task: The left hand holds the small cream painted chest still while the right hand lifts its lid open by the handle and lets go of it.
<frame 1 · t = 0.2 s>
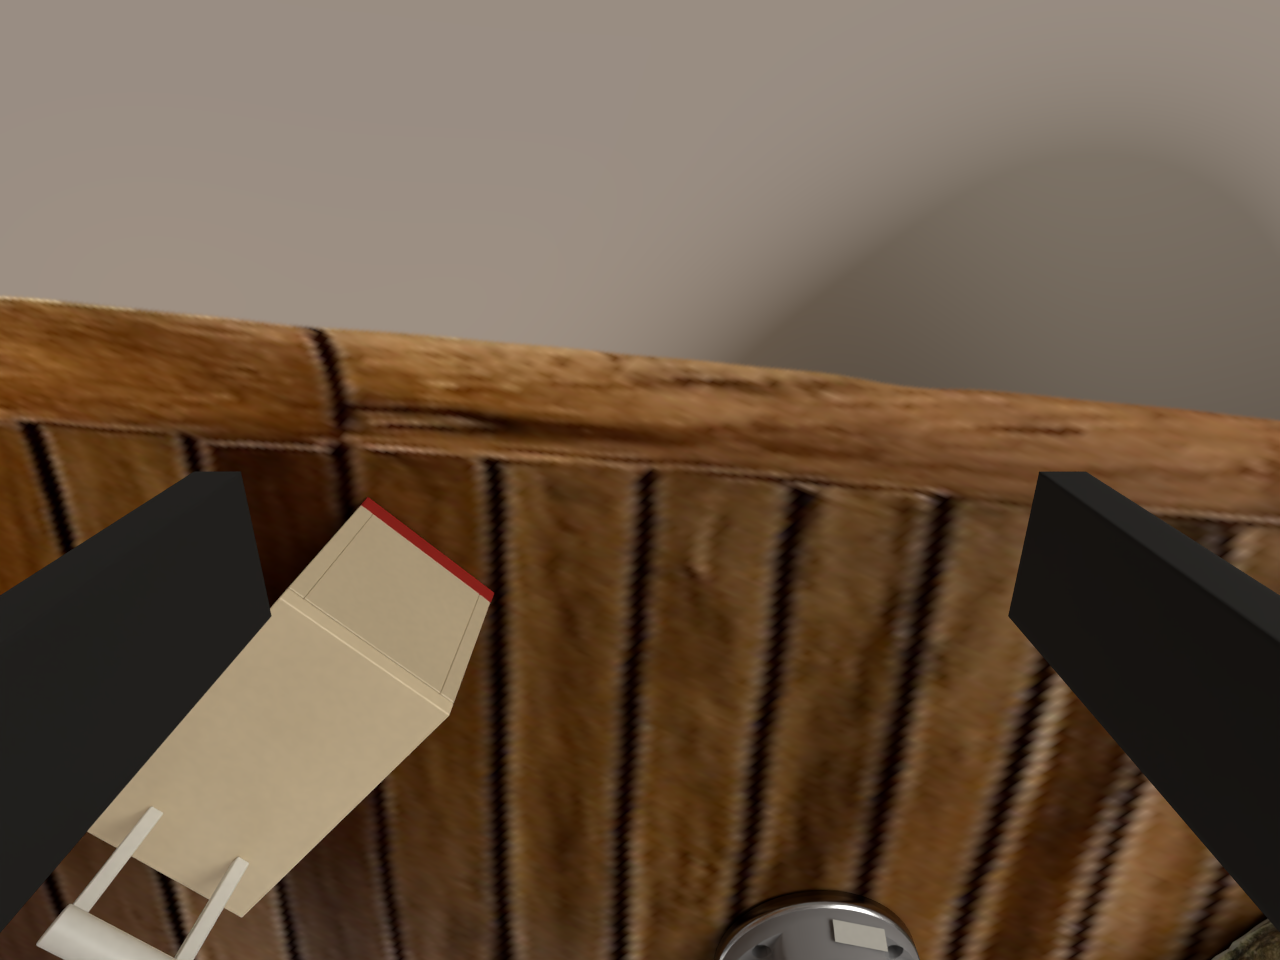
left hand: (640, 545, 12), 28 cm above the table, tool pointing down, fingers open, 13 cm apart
chest: (349, 636, 46), on the table
lid: (225, 825, 33), point 14 cm above the table, hinge at 0.0°
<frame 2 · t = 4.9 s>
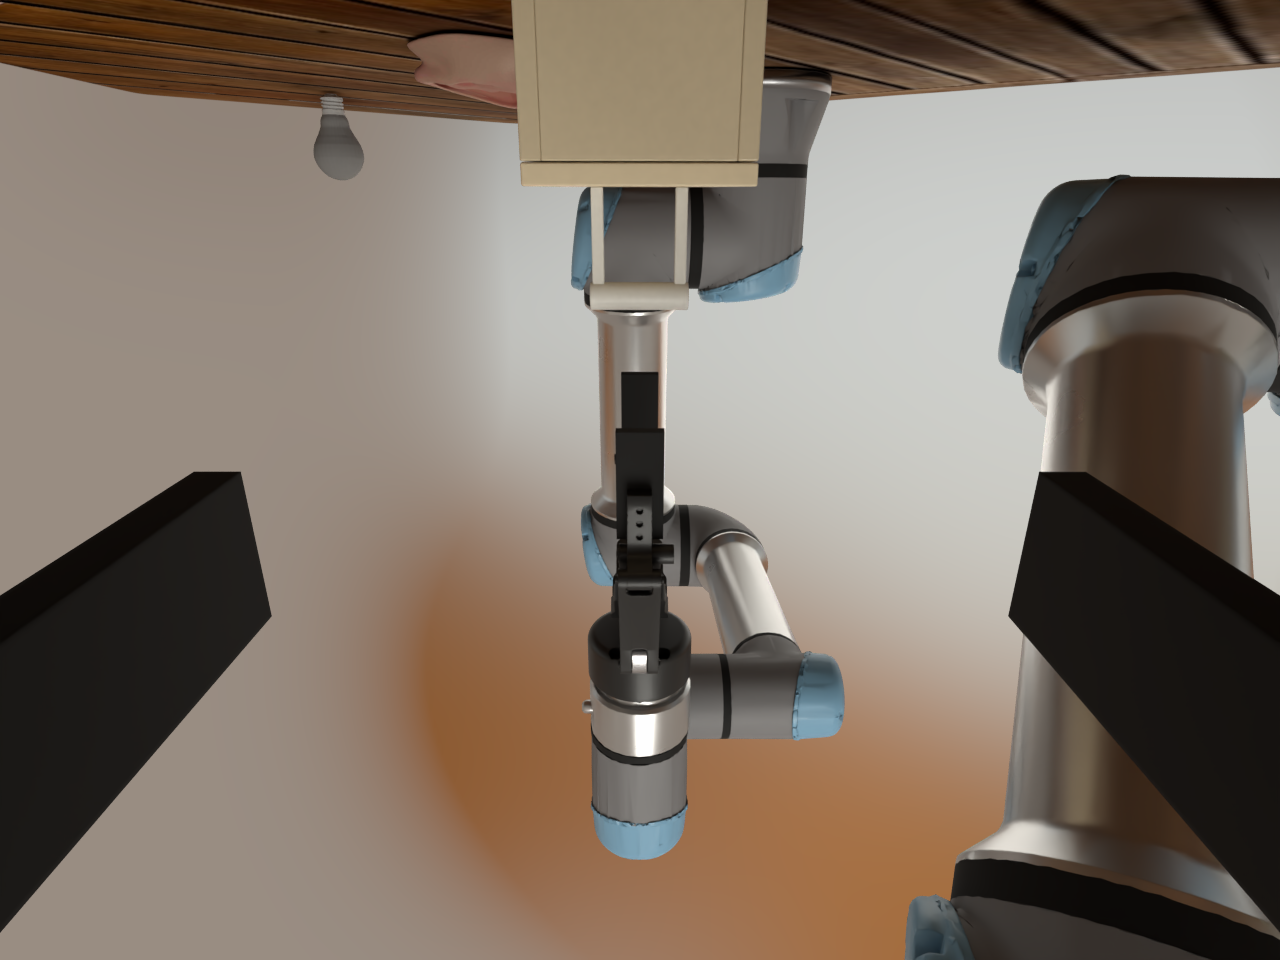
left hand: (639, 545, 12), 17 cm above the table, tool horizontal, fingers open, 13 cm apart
anatomical model: (476, 45, 62), on the table
light bulb: (330, 92, 92), on the table
lid: (639, 249, 38), point 14 cm above the table, hinge at 0.0°
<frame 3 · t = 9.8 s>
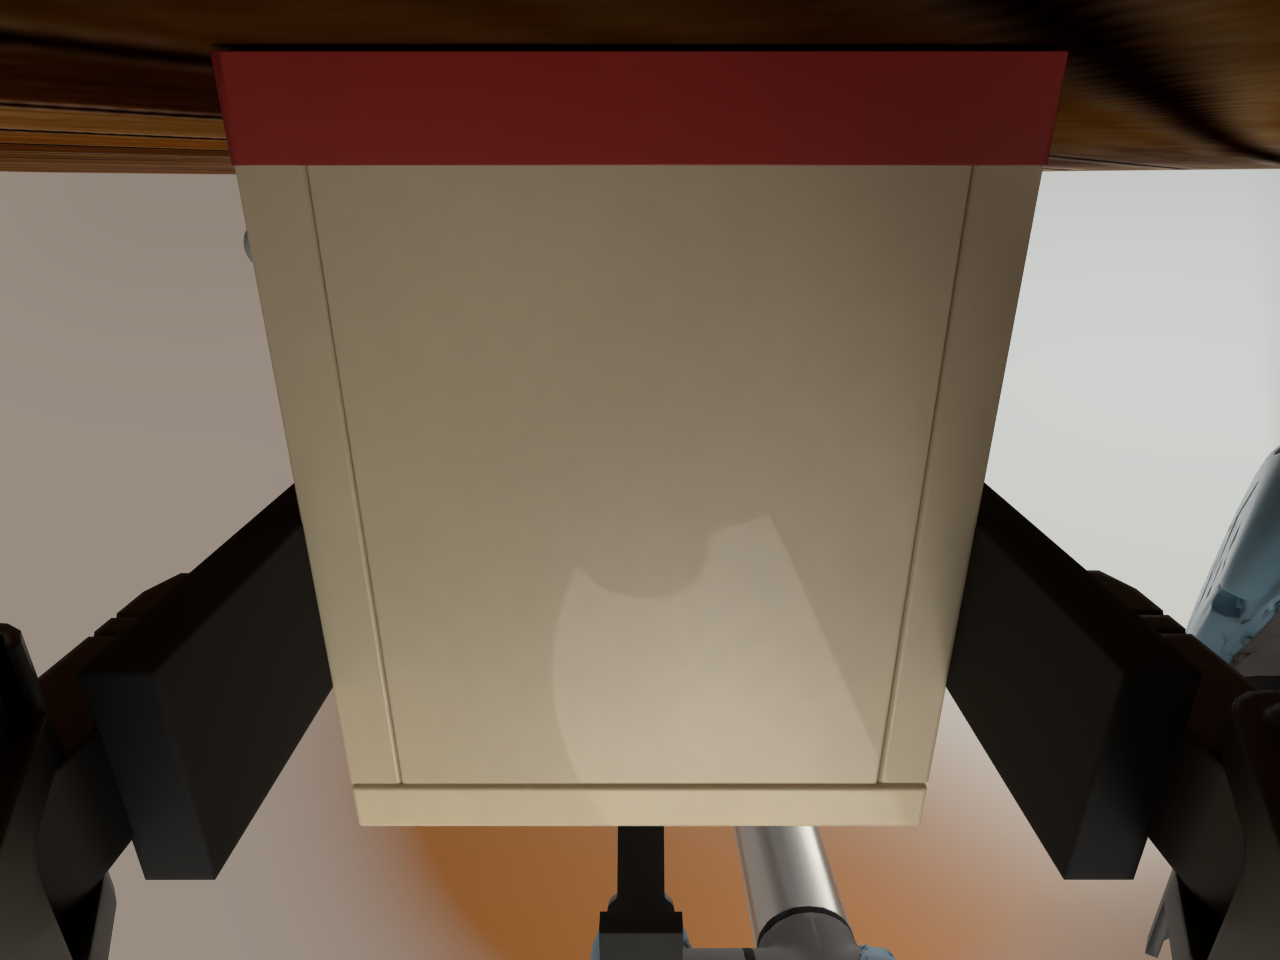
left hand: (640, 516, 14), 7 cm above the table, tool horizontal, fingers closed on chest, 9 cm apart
chest: (639, 118, 16), on the table, touching left hand
lid: (639, 656, 22), point 14 cm above the table, hinge at 0.0°
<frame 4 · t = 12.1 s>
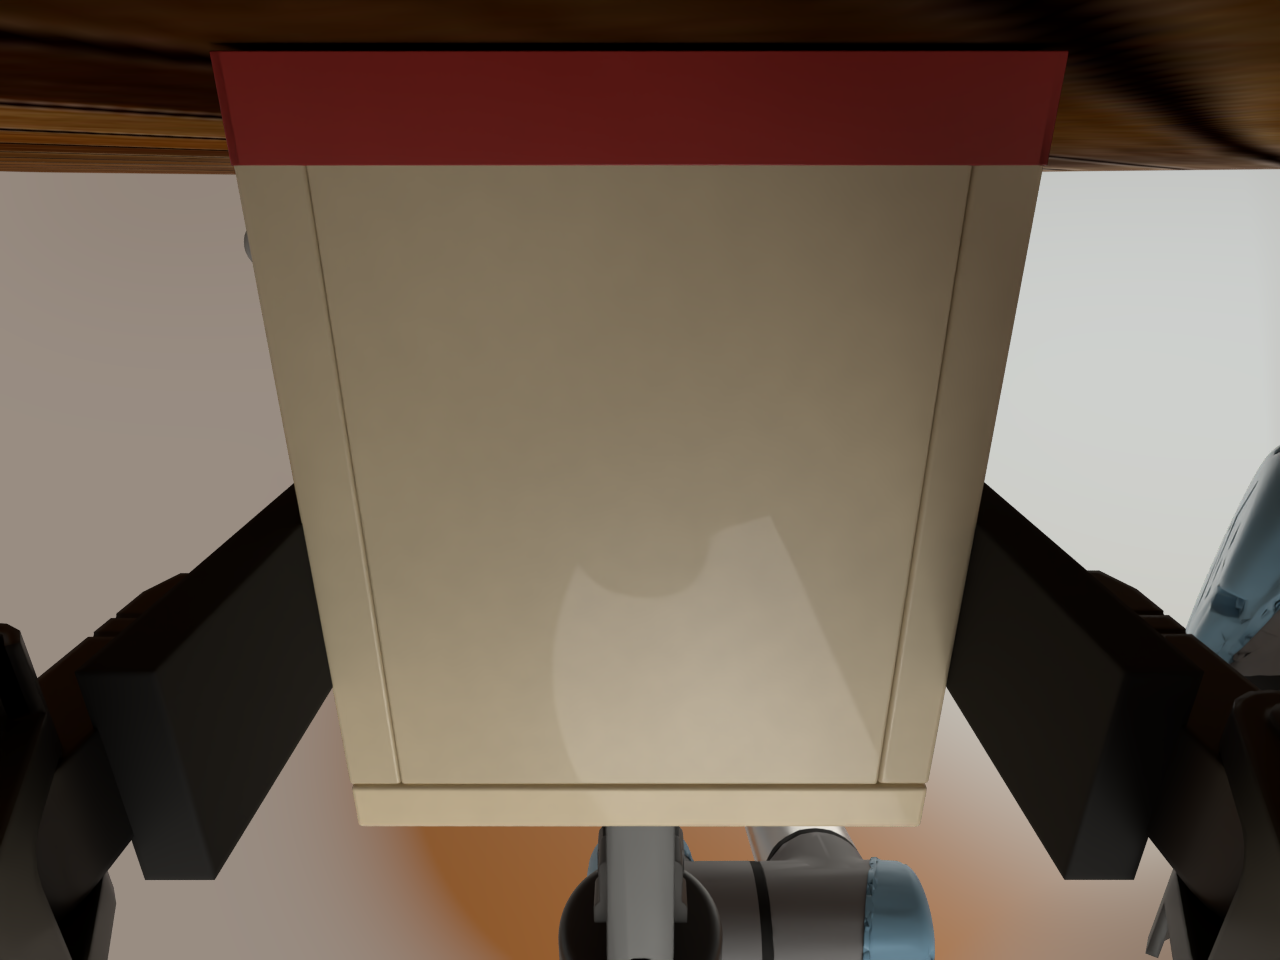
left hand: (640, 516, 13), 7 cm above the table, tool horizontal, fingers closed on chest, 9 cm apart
chest: (639, 118, 16), on the table, touching left hand
lid: (639, 656, 22), point 14 cm above the table, hinge at -0.1°, touching right hand
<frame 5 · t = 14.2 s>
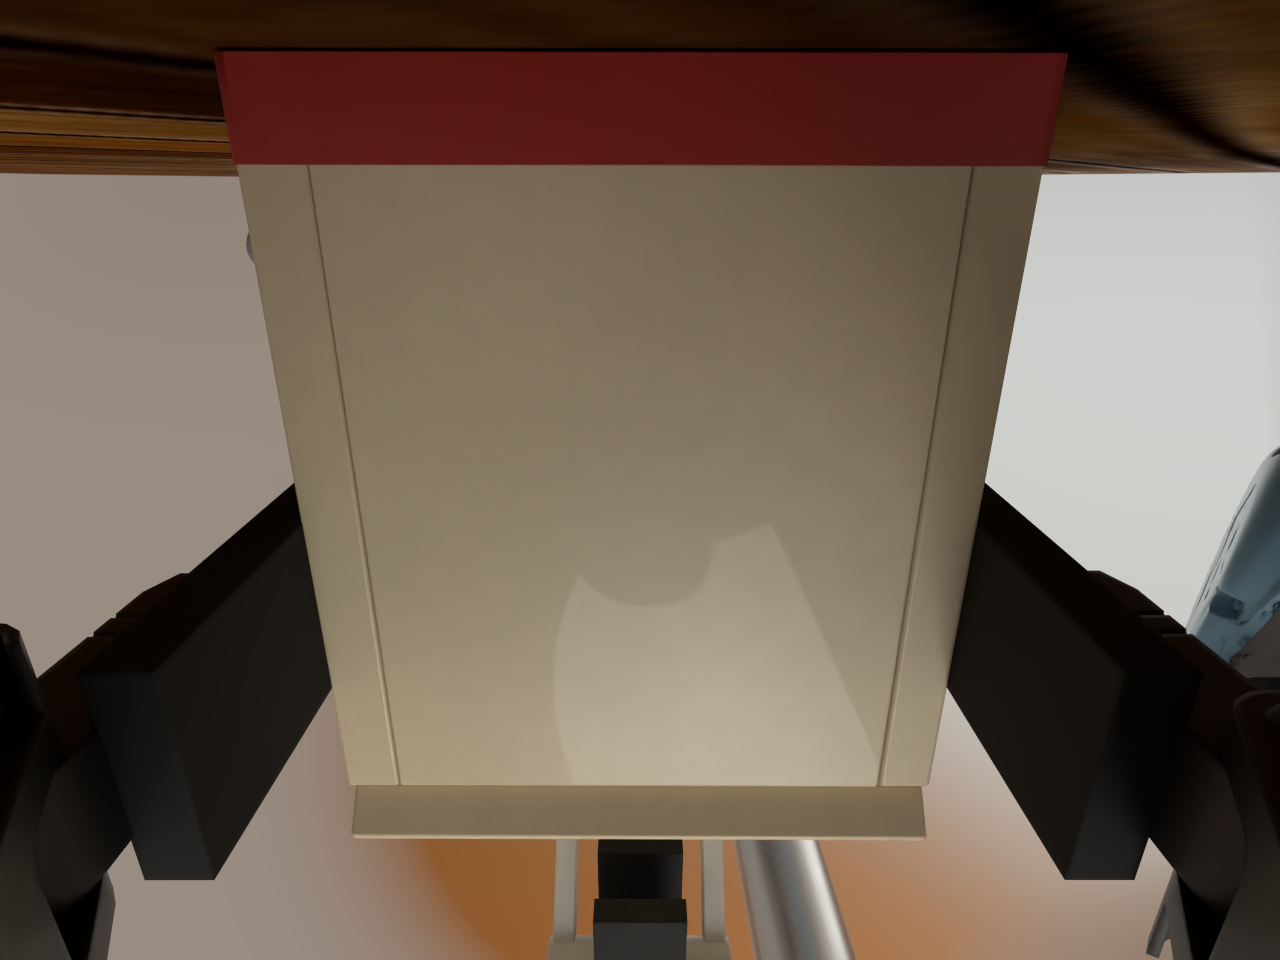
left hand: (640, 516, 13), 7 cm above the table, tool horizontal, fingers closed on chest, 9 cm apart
chest: (641, 121, 16), on the table, touching left hand
lid: (639, 904, 20), point 19 cm above the table, hinge at 38.0°, touching right hand
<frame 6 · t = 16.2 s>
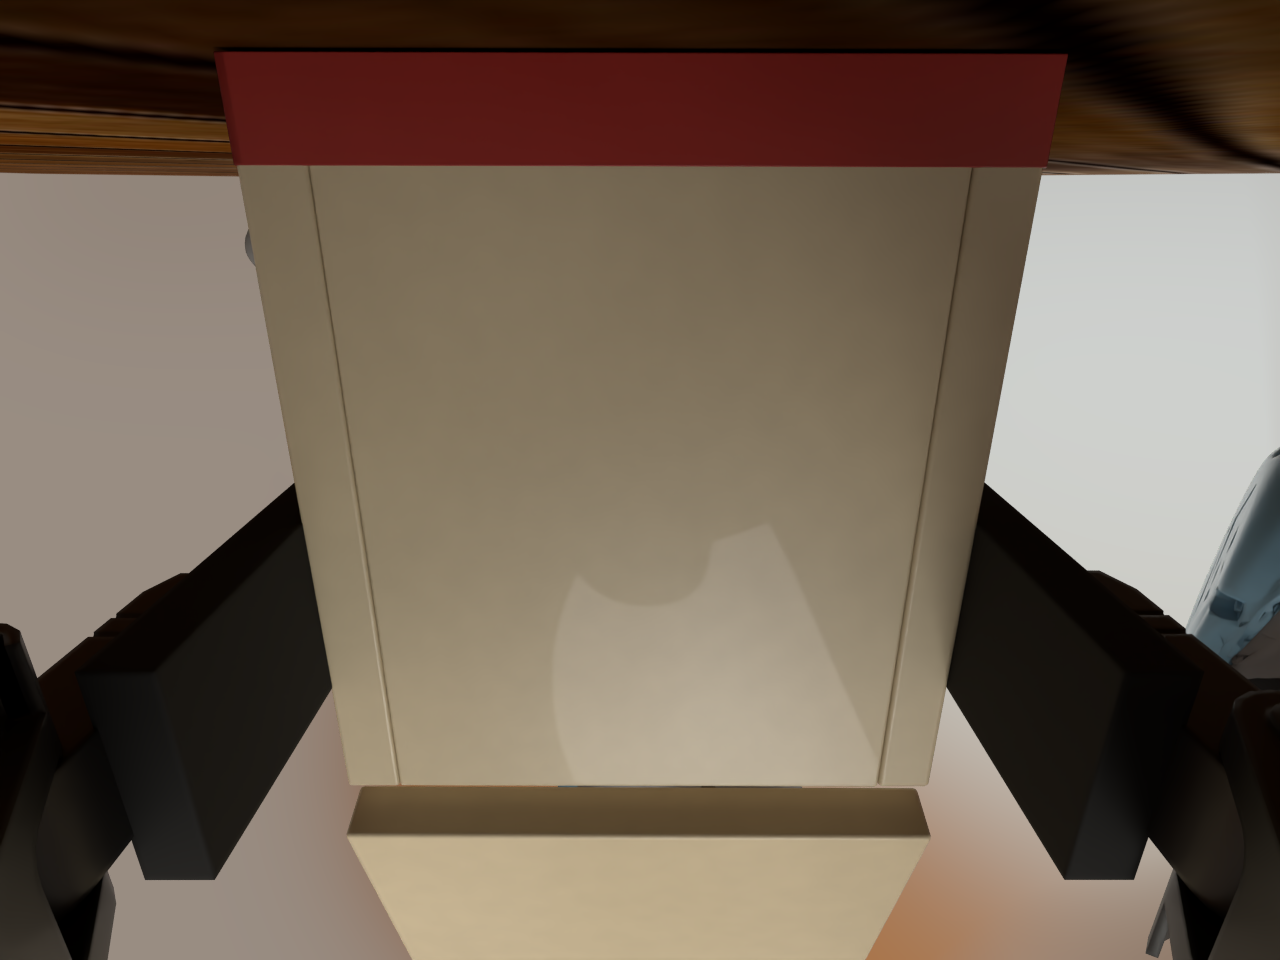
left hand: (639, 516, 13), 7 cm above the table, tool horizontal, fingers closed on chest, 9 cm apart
chest: (640, 121, 16), on the table, touching left hand
when the left hand's fingers open (7 cm above the table, at t = 20.3 s): chest stays where it is, on the table.
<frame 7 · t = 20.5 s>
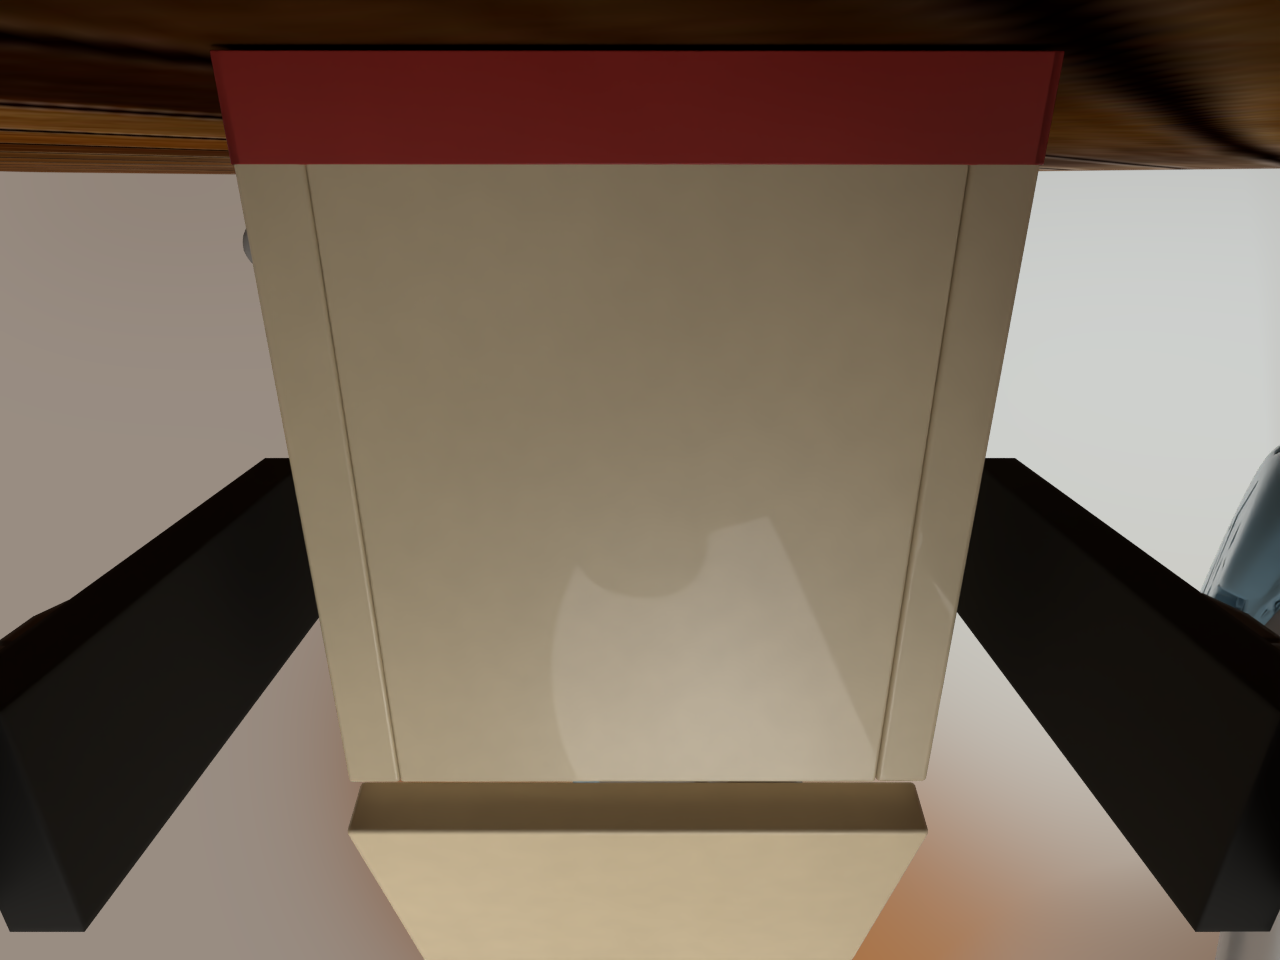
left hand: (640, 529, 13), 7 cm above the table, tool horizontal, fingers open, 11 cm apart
chest: (638, 118, 16), on the table
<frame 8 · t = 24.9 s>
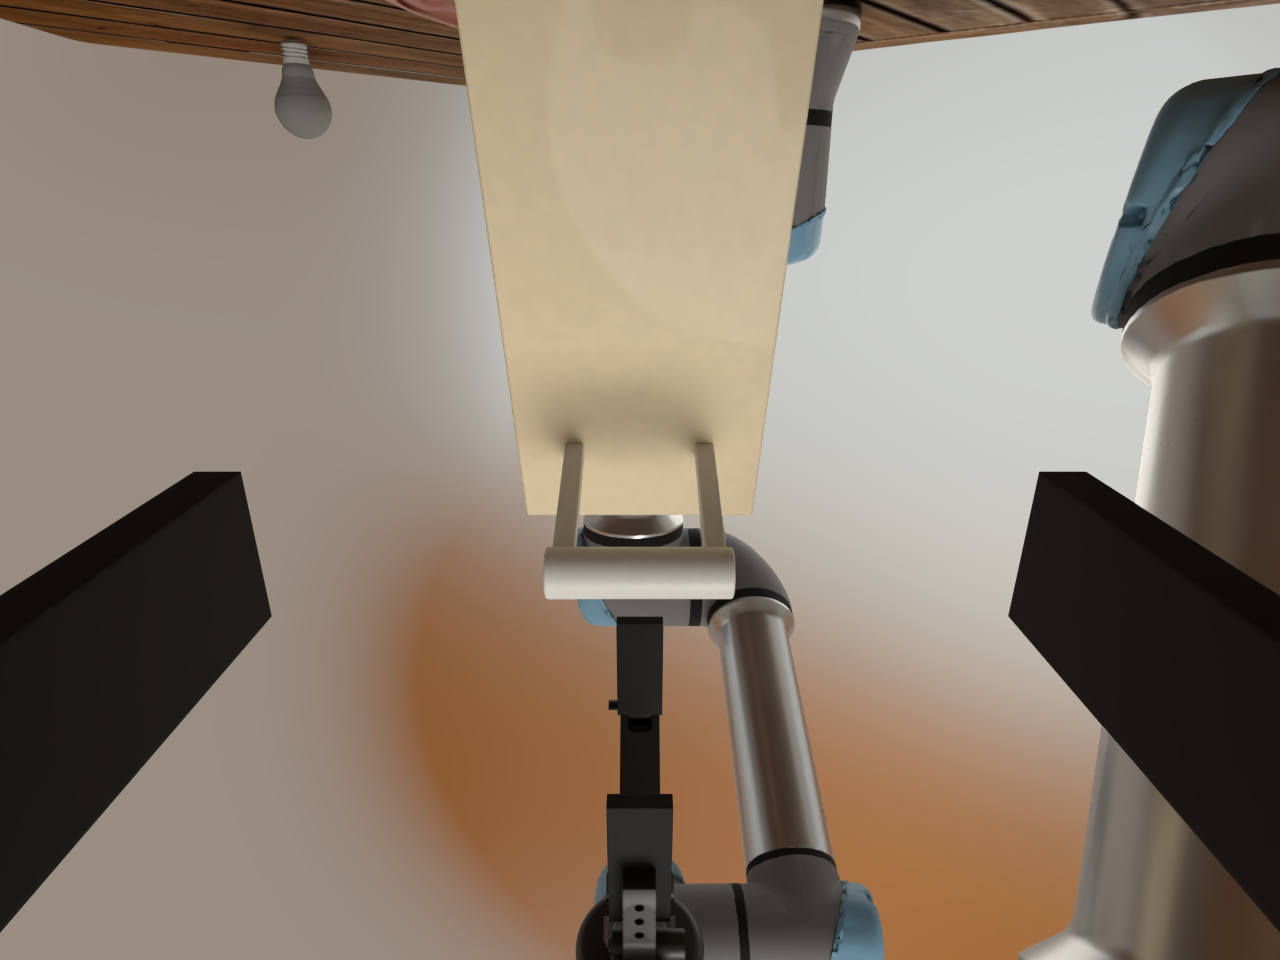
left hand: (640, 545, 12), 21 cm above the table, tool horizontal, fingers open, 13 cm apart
light bulb: (292, 37, 82), on the table
lid: (639, 368, 22), point 20 cm above the table, hinge at 70.3°
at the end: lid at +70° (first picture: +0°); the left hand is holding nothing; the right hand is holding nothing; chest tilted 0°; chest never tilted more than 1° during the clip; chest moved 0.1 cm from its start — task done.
